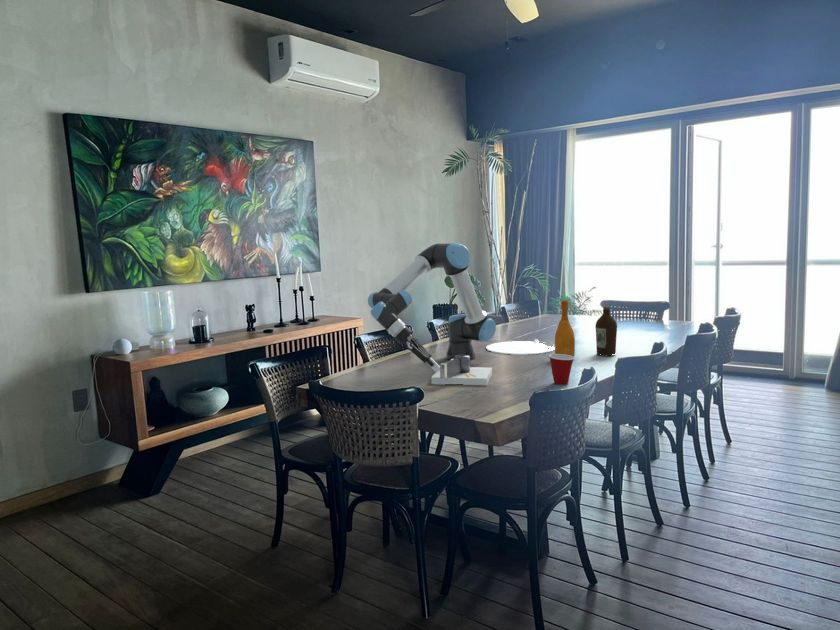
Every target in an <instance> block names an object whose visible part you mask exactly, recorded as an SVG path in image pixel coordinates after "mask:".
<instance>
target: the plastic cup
mask: <svg viewBox="0 0 840 630" xmlns="http://www.w3.org/2000/svg"><path fill="white" fill-rule="evenodd" d="M548 357H549V361H550V366H551V374H552V379H553V382H554V384H556V385H558V386H559V385H563V386H564V385H568V383H569V382H570V376H571V371H572V365H573V362H574V360H575V358H576V357H575V356H570V355H565V354H555V353H549V354H548Z"/></svg>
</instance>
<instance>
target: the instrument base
mask: <svg viewBox="0 0 840 630" xmlns="http://www.w3.org/2000/svg"><path fill="white" fill-rule="evenodd" d="M451 360H453V359H451ZM492 374H493V367H482V366H481V367H476V366H475V367H473V366H472V367H471V366H470V372H467V373H457V374H455V375H452V376H450V377H447V378H446V379H441V378H440V370H439V371H438V372H437V373H436V372H434V374H432V376H431V377H430V379H431V380H430V381H431V385H445V384H463V385H462V386H488V384H489V382H490V380H489V379H491V378H492ZM490 377H491V378H490Z"/></svg>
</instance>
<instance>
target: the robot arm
mask: <svg viewBox="0 0 840 630" xmlns="http://www.w3.org/2000/svg"><path fill="white" fill-rule="evenodd" d="M470 258H471V254H470V251H469V249H468V247H466V246H465V245H464V244H463V243H457V242H451V243H435V244H432V245H430V246H428V247H426V248H425V249H424V250H423V251H421V252H420V253H418V255H416V256H415V257H414V260H413V261H412V263H410V264H409V265H408V266H407V267H405V268H404V269H403V270H402V272H401V271H400V273H399V274H398V275H397V276H396V277H394V278H393V279H392V280H391V281H390V282H389V283H387V285H386V284H385V286H384V287H383V288H382V289H381V290H379V291H378V292H377V291H376V292H375V291H374V292H372V293H370V294H369V295H368V297H367V304H368V306H369V307H370V308H371V310H370V315H371V316H372V318H374V320H375V321H376V322H378V324H380V326H382V327H383V329H385V331H386V332H388V335H391V336H392V337H394V338H395V341H397V342H398V344H402V343H404V344H405V345H406V349H407V350H409V351H410V352H411V353H412V354H413V355H415V357H417V358H418V359H419V360H421V361H422V363H423V364H426V365H428V366H429V368H431V369H432V370H433V371H434V373H437V372H438V371H439V370H440V364H438V362H436V361H435V359H433V358H432V357H433V356H432V354H431V353H429V351H428V350H427V349H426V348H425V347H424V346H423V345H422V344H421V342H420V341H419V339H417V338H415V337H413V336H412V335H411V334H412V333H413V331H412V329H410V328H409V326H407V325H406V323H405V322H404V321H403V320H402V319H401V318H399V317H398V316H399V315H400V314H401V313H402V312H404V311H405V310H406V309H407V308H408V307H409V306H411V304H412V302H413V297H412V295H411V294H410V292H408V291H407V289H408V288H410V286H412V285H413V284H414V283H415V282H417V280H419V279H420V278H421V277H422V276H423V275H424V274H427V273H430V272H431V271H432V270H434V269H438V268H440V269H443V270H444V272H445V275H446V276H447V277H450V279H451V282H452V284H453V286H454V290H455V291H456V295H457V297H458V299H459V302H460V305H461V307H462V310H463V312H464V313H460V314H458V313H457V314H454V315H450V316H449V317H448V323H447V324H448V347H447V350H446V353H445V359H447V360H448V361H450V360H451V359H455V356H456V355H461V354H465V355H470V361H471V360H474V359H476V353H475V350H474V347H473V344H472V341H478V342H490V341H491V340H492V339H493V338H494V336H495V334H496V330H497V323H496V322H495V320H494V319H492V318H491V317H490V318H489V316H488V314H487V311H485V310H483V309H482V307H481V303H480V301H479V298H478V295H477V292H476V291H475V287H474V286H473V282H472V279H471V277H470V274H469V272H468V269H469V266H470V261H471V259H470Z"/></svg>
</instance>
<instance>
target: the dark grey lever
mask: <svg viewBox="0 0 840 630" xmlns="http://www.w3.org/2000/svg"><path fill="white" fill-rule="evenodd" d="M439 366H440V378H441V379H446V378H447V377H450V376H452V375H455V374H457V373H467V372H470V367H471V360H470V355H465V354H461V355H456V356H455V359H453V360H447V361H445V362H442V363H439Z"/></svg>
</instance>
